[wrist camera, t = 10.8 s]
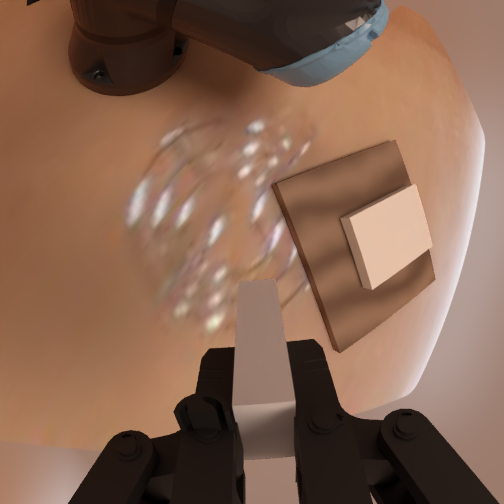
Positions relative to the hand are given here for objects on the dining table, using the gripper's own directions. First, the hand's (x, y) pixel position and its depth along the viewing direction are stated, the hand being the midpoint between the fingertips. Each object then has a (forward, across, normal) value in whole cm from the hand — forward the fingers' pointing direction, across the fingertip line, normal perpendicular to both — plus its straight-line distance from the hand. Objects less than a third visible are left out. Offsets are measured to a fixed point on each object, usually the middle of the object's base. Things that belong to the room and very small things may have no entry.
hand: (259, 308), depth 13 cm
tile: (+24, +13, -9) cm, 29 cm away
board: (+29, +16, -8) cm, 34 cm away
